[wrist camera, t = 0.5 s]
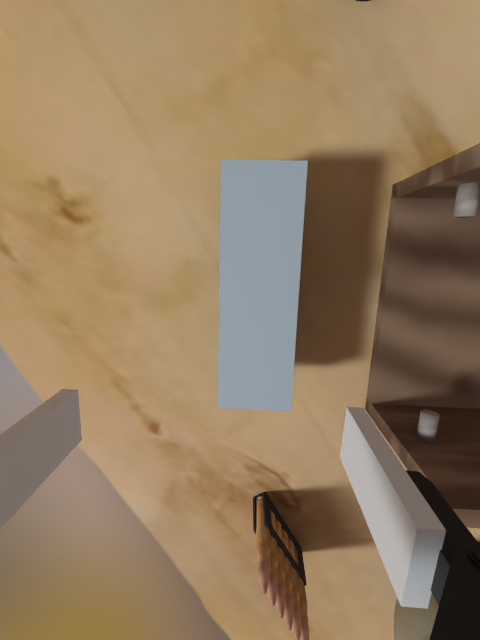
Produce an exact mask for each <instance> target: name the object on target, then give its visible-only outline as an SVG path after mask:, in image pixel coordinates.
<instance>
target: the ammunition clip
mask: <svg viewBox="0 0 480 640" xmlns="http://www.w3.org/2000/svg"><path fill="white" fill-rule="evenodd" d="M253 525H254V532H255V534H256V553H257V558H258V572H259V580H260V585H261V589H262V591H263V593H264V594H265V593H266V591H268V596H269V599H270V602H271V604H272V606H274V605H275V602H276V606H277V610H278V613H279V616H280V617H281V618H283V615H284V618H285V621H286V624H287V627H288V629H289V630H291V627H292V629H293V632H294V636H295V638H296V640H309V628H308V617H307V600H306V593H305V585H306V578H305V570H304V563H303V556H302V549H301V547H300V545H299V544H298V542H297V541H296V539H295V538H294V536H293V534H292V533H291V531H290V530H289V528H288V527H287V525H286V524H285V522H284V521H283V519H282V518H281V516H280V514H279V513H278V511H277V510H276V508H275V507H274V505H273V504H272V502H271V501H270V499H269V498H268V496H267V495H266V493H262V494H259V495H257V496H255V497H253Z"/></svg>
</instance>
